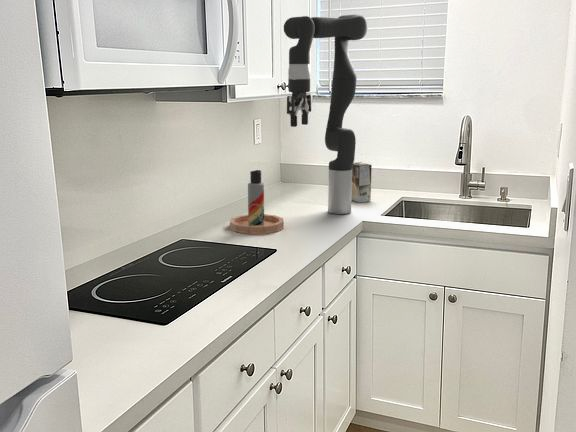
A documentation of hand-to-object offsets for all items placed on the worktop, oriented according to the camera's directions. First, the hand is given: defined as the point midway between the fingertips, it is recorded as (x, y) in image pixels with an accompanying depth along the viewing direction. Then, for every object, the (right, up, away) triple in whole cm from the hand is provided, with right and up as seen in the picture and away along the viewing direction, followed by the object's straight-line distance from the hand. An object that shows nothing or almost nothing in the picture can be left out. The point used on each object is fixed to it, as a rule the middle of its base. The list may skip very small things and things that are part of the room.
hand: (299, 125), depth 201 cm
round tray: (-15, -36, +5) cm, 39 cm away
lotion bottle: (-15, -35, +5) cm, 39 cm away
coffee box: (+27, -25, +51) cm, 63 cm away
